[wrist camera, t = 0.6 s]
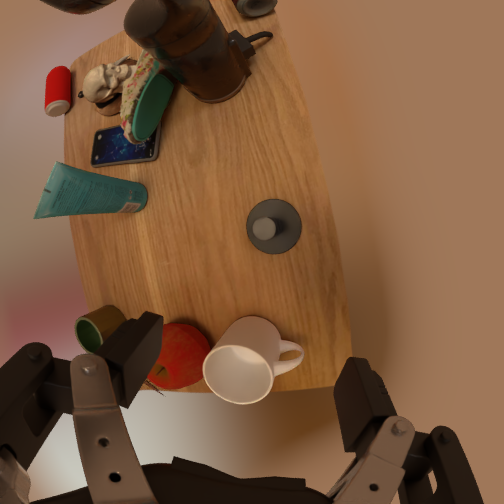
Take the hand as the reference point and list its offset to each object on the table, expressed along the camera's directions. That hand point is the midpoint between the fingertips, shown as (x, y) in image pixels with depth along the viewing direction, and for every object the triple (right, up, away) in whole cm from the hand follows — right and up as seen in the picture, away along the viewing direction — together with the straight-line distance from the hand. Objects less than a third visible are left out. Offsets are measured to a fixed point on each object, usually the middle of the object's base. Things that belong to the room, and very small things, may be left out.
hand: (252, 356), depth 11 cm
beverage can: (-40, +33, +30) cm, 60 cm away
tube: (-19, +13, +31) cm, 39 cm away
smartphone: (-22, +23, +31) cm, 44 cm away
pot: (-26, -9, +35) cm, 45 cm away
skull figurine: (-25, +35, +30) cm, 52 cm away
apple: (-10, -11, +33) cm, 36 cm away
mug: (+2, -9, +30) cm, 31 cm away
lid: (+3, +8, +27) cm, 28 cm away
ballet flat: (-12, +31, +23) cm, 41 cm away
